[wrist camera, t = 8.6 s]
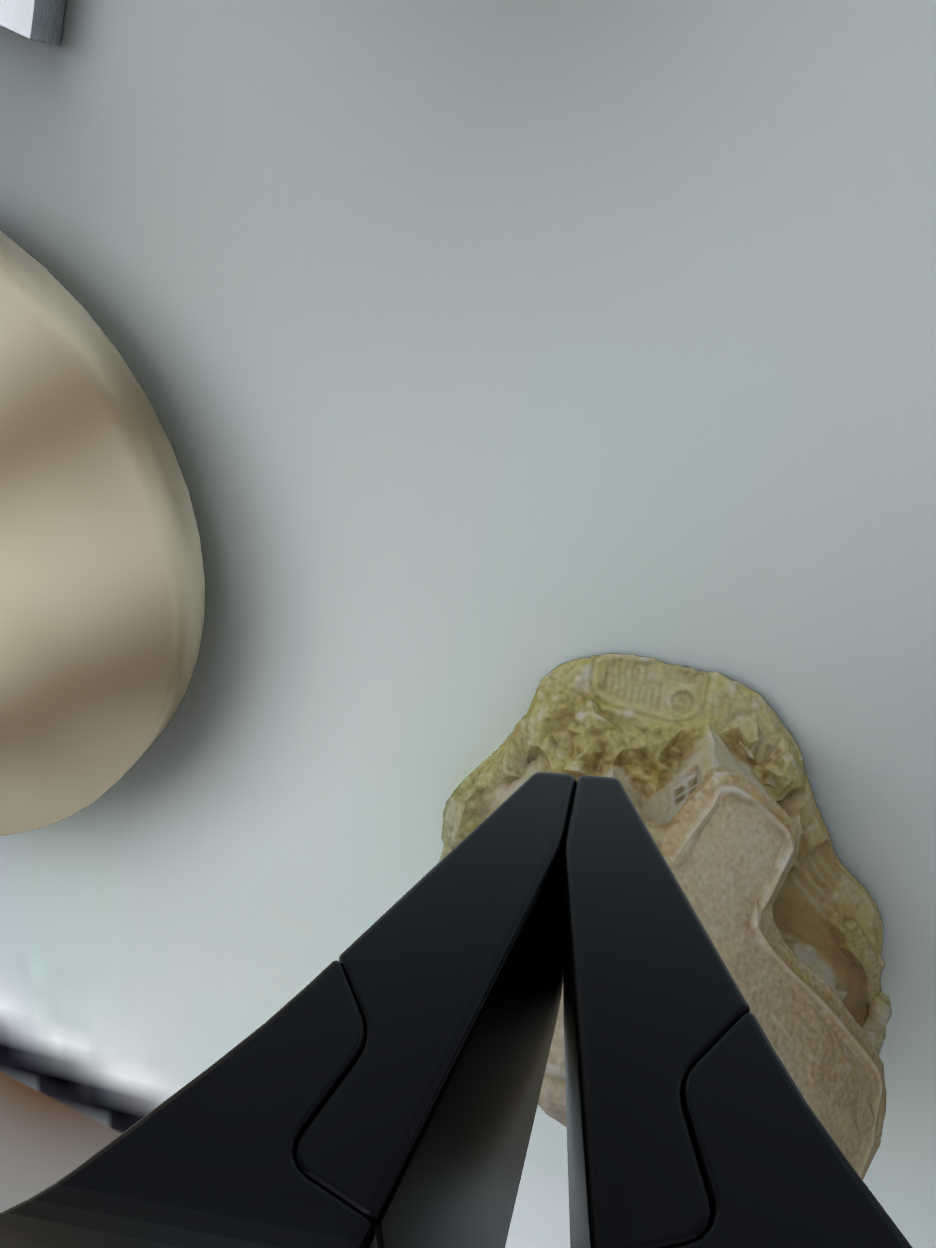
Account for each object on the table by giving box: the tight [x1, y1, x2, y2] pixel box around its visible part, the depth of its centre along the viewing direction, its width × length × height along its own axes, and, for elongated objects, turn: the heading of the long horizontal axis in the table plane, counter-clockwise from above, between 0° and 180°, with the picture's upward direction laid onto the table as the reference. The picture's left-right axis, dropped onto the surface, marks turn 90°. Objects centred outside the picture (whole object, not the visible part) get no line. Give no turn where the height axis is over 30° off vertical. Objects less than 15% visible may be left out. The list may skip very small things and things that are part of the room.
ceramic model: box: [439, 653, 892, 1180], centre depth 21 cm, size 14×11×10 cm
